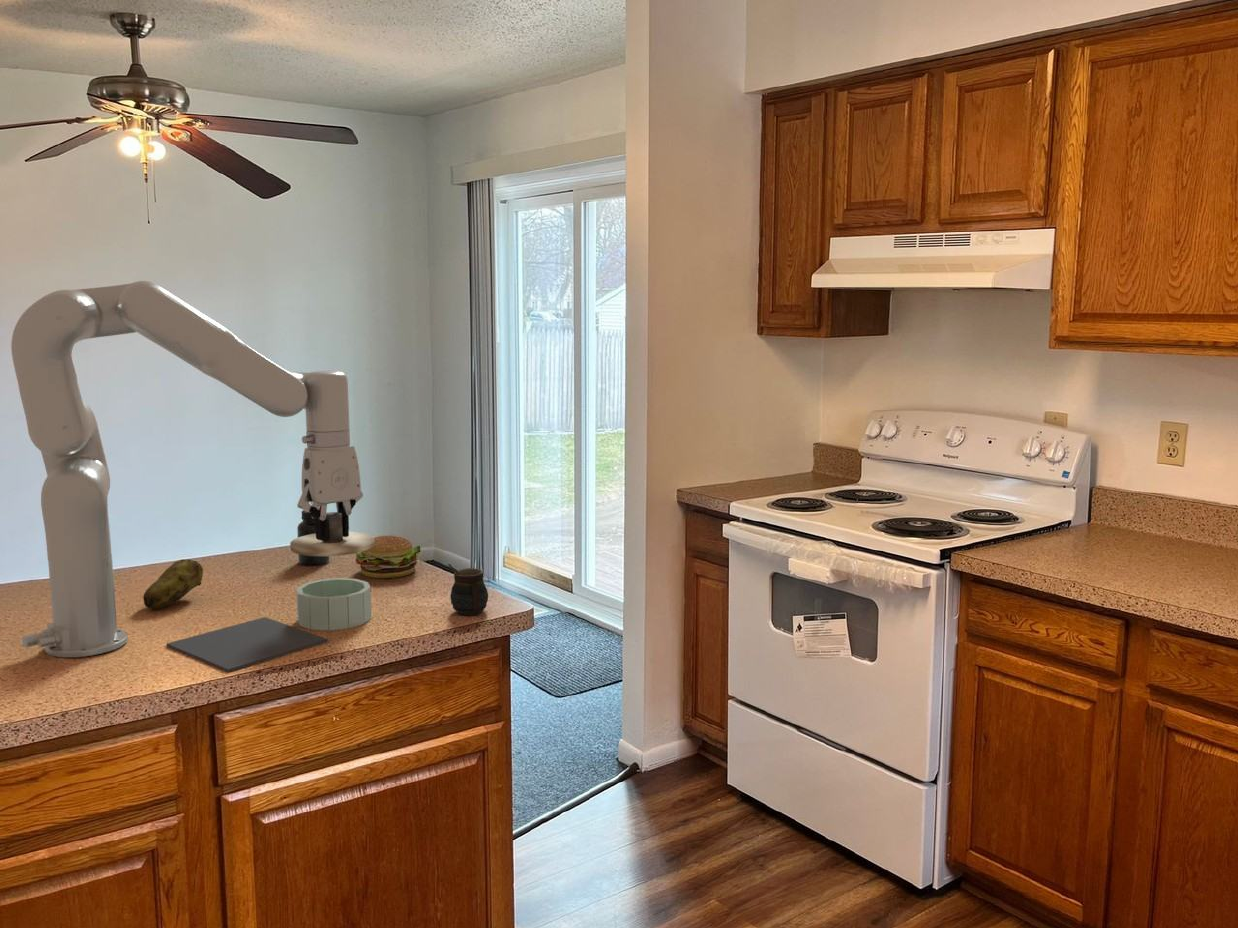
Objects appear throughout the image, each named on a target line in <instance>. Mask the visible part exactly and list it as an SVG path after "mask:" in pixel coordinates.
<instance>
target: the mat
mask: <svg viewBox="0 0 1238 928" xmlns="http://www.w3.org/2000/svg"><path fill="white" fill-rule="evenodd" d="M328 640H329V639H328V638H327V637H323V636H320V635H318V634H315V633H312V632H309V631H306V630H303V629H301V628H297V627H294V626H292V625H289V624H287V623H284V622H280V621H277V620H274V619H272V618H269V617H266V616H264V617H260V618H256V619H253V620H249V621H245V622H241V623H237V624H234V625H231V626H226V627H222V628H219V629H216V630H212V631H207V632H204V633H200V634H197V635H193V636H190V637H185V638H182V639H178V640H175V641H171V642H168V643H166V647H167V648H171V649H172V650H175V651H177V652H180V653H181V654H184V655H186V656H188V657H192V658H194V659H195V660H198V661H201V662H203V663H205V664H208V665H210V666H212V667H215V668H217V669H219V670H222V671H225V672H227V673H230V672H234V671H238V670H241V669H243V668H247V667H249V666H253V665H257V664H260V663H263V662H266V661H269V660H273V659H276V658H279V657H281V656H282V657H284V656H285V655H290V654H292V653H296V652H298V651H303V650H306V649H309V648H312V647H316V646H317V645H318V646H319V645H321V644H324V643H327V642H329V641H328Z"/></svg>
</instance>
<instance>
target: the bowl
mask: <svg viewBox="0 0 1238 928" xmlns="http://www.w3.org/2000/svg"><path fill="white" fill-rule="evenodd" d="M295 591H296V611H297V612H296V613H297V614H296V615H297V616H296V617H297V623H298V626H300V627H303V628H305V629H308V630H311V631H313V630H314V631H338V630H339V631H340V630H347V629H351V628H356V627H359V626H361V625H364V624H366V623H367V622H368V621H370V620H371V619H372V589H371V585H370V584H369V582H368V581H365V580H361V579H358V578H348V577H347V578H345V577H344V578H343V577H335V578H325V579H324V578H323V579H318V580H314V581H308V582H305V583H303V584H302V585H300V586H298V587H297V588H296V589H295Z"/></svg>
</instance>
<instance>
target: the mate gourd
mask: <svg viewBox="0 0 1238 928" xmlns="http://www.w3.org/2000/svg"><path fill="white" fill-rule="evenodd" d="M447 565H448V567H449V568H450V569H451V570H452V571H453V572H454V573H453V579H454V583H453V584H452V587H451V590H450V591H451V592H450V595H449V596H450V603H451V606H452V608H453V610H454V611H456V613H458V614H459V615H462V616H476V615H479V614H481V613H482V612H484V610H485V609H486V607H487V604H488V600H489V593H488V589H487V586H486V584H485V581H484V571H483V570H482V569H480V568H477V567H476V568H475V567H467V568H461V569H455V567H453V566H452V564H451V563H447Z"/></svg>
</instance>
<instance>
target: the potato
mask: <svg viewBox="0 0 1238 928" xmlns="http://www.w3.org/2000/svg"><path fill="white" fill-rule="evenodd" d="M203 575H204V568H203V566H202V565H201V563H199V562H198V561H196V560H194V559H179V560H177V561H174V562H173V563H172V564H171V565H170V566H169V567H168V568H166V569H165V570H164V571H163V572H162V574H161V575H160V576H159V577H158V578H157V580H155V581H154V582H153V583H152V584H151V585H150V586H149V587H148V588H147V589H146V590H145V592H144V594H143V595H142V596H143V597H142V599H143V603H144V605H145V607H146V608H148V609H151V610H152V611H155V610H159V609H162V608H164V607H167V606H168V605H172V604H175V603H177V602H178V601H179V600H181V599H182V598H183V597H185V596H186V595H187V594H188V593H189V592H190V591H193V589H195V588H196V587H199V586H201V584H202V580H203V577H204V576H203Z"/></svg>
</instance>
